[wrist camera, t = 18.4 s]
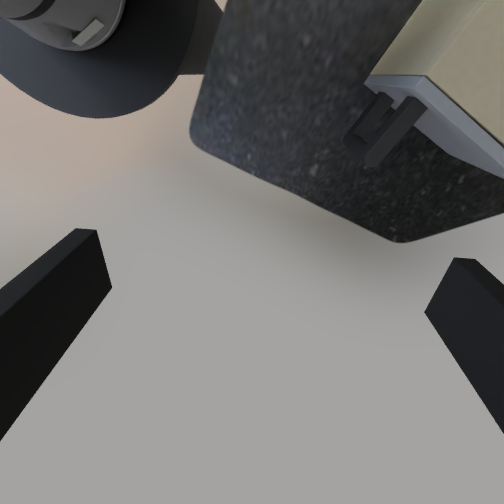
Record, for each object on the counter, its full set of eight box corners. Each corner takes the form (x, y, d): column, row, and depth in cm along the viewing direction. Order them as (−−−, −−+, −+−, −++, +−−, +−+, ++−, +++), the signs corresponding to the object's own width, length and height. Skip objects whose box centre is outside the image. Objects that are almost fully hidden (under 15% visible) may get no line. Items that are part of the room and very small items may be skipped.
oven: (455, 145, 36) (545, 179, 25) (369, 74, 33) (426, 74, 21) (541, 57, 31) (708, 48, 19) (450, -40, 27) (588, -125, 16)
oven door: (409, 192, 40) (467, 240, 28) (328, 131, 36) (356, 158, 25) (454, 147, 36) (541, 181, 25) (369, 74, 33) (424, 75, 21)
